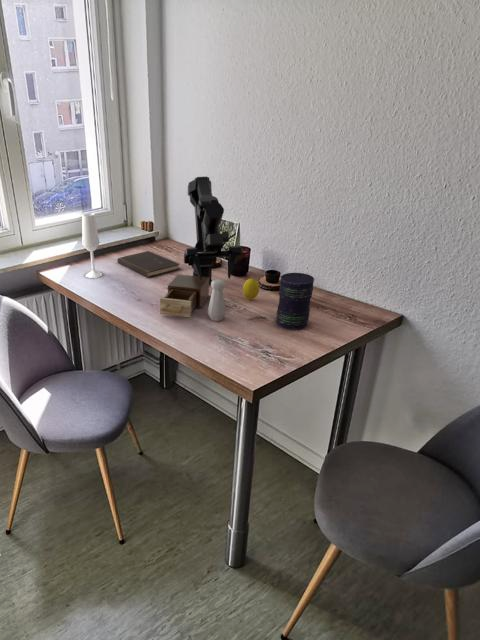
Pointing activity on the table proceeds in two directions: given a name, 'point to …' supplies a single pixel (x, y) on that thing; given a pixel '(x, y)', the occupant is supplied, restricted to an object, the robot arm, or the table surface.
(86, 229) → the champagne flute
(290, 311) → the storage jar
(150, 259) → the hardcover book
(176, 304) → the drawer
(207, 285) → the cabinet
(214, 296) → the white bowling pin
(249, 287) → the lemon
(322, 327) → the table surface
